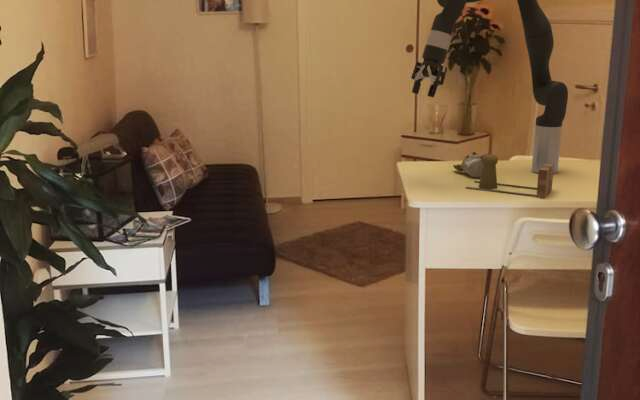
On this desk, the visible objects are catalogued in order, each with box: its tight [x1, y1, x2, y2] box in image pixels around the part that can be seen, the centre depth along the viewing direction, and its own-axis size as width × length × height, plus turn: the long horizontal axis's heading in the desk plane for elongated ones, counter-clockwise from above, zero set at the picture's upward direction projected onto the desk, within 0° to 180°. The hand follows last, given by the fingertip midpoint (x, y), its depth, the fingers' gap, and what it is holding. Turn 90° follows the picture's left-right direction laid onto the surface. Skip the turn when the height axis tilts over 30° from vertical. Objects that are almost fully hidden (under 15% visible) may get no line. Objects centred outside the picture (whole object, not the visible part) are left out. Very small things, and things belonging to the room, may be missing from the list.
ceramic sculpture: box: [453, 151, 483, 179], centre depth 256 cm, size 11×9×15 cm
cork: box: [478, 154, 499, 190], centre depth 238 cm, size 6×6×11 cm
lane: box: [465, 163, 554, 199], centre depth 235 cm, size 12×26×9 cm, turn 62°
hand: (422, 95), depth 235 cm, fingers open, 8 cm apart
